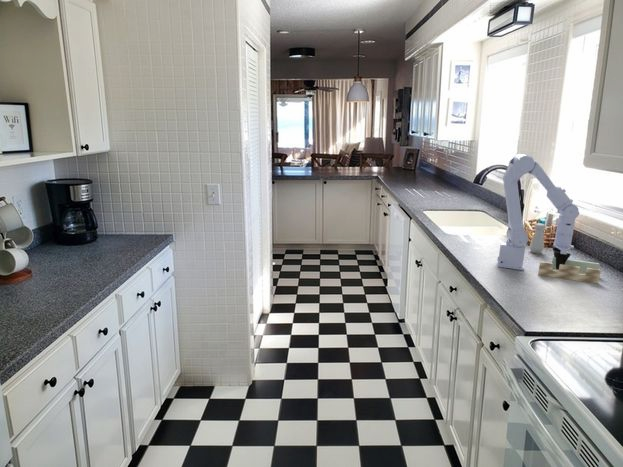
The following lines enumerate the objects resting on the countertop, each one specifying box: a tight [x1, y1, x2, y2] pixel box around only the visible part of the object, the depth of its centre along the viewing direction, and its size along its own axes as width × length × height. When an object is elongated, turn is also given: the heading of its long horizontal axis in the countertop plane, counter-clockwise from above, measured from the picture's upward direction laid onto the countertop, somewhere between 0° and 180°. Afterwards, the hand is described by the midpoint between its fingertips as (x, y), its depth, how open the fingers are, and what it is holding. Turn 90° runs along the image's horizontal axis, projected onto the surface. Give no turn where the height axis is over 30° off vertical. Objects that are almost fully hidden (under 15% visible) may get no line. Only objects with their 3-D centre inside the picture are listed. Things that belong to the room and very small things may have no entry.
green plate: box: [551, 256, 600, 274], centre depth 183 cm, size 16×1×5 cm, turn 68°
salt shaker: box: [528, 222, 546, 255], centre depth 209 cm, size 6×6×13 cm
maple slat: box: [537, 261, 602, 284], centre depth 176 cm, size 20×1×5 cm, turn 68°
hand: (558, 267), depth 186 cm, fingers open, 5 cm apart
